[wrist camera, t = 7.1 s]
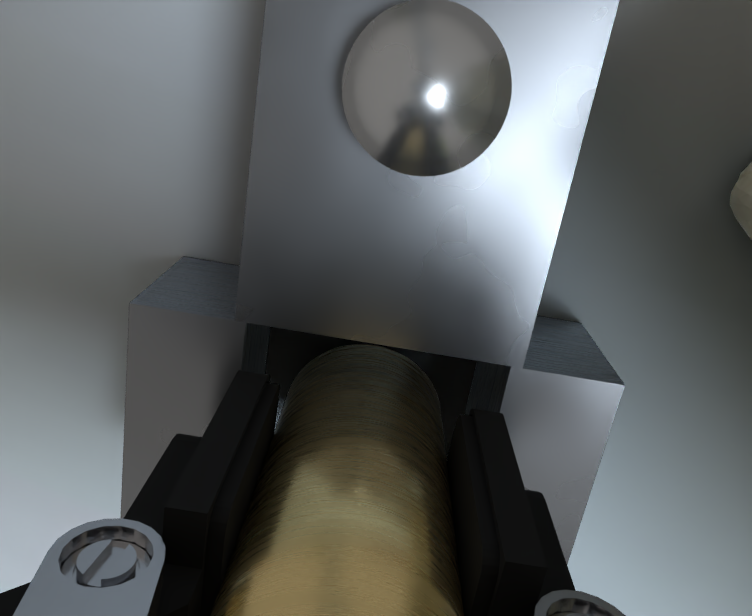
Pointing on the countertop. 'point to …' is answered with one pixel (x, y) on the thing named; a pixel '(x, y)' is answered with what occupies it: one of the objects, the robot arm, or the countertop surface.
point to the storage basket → (743, 200)
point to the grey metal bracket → (400, 224)
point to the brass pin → (350, 499)
